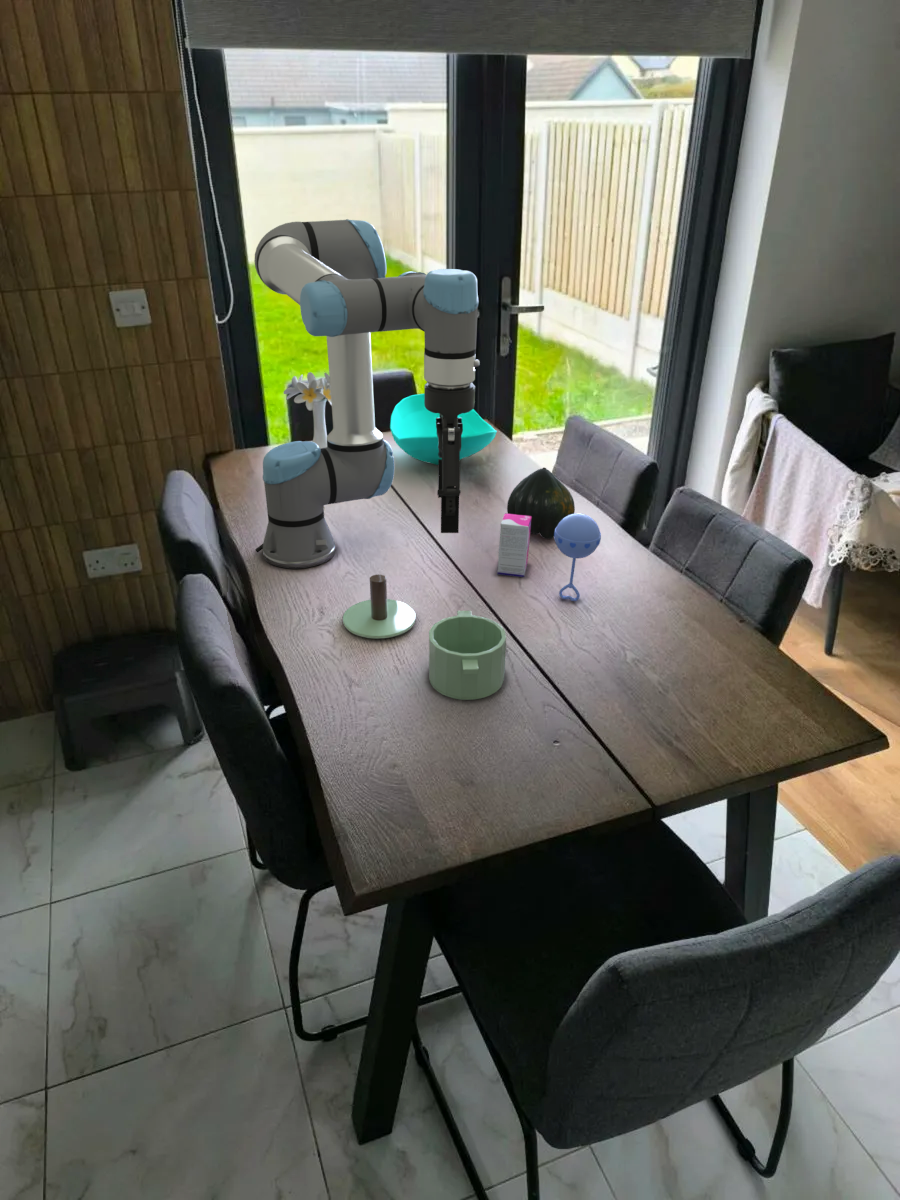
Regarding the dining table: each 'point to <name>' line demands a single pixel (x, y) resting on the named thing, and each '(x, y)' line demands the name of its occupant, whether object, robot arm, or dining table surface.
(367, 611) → the lid
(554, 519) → the squash
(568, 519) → the baby rattle
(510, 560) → the supplement box
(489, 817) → the dining table surface
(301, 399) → the flower vase
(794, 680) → the dining table surface
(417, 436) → the table top decor
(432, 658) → the pot
